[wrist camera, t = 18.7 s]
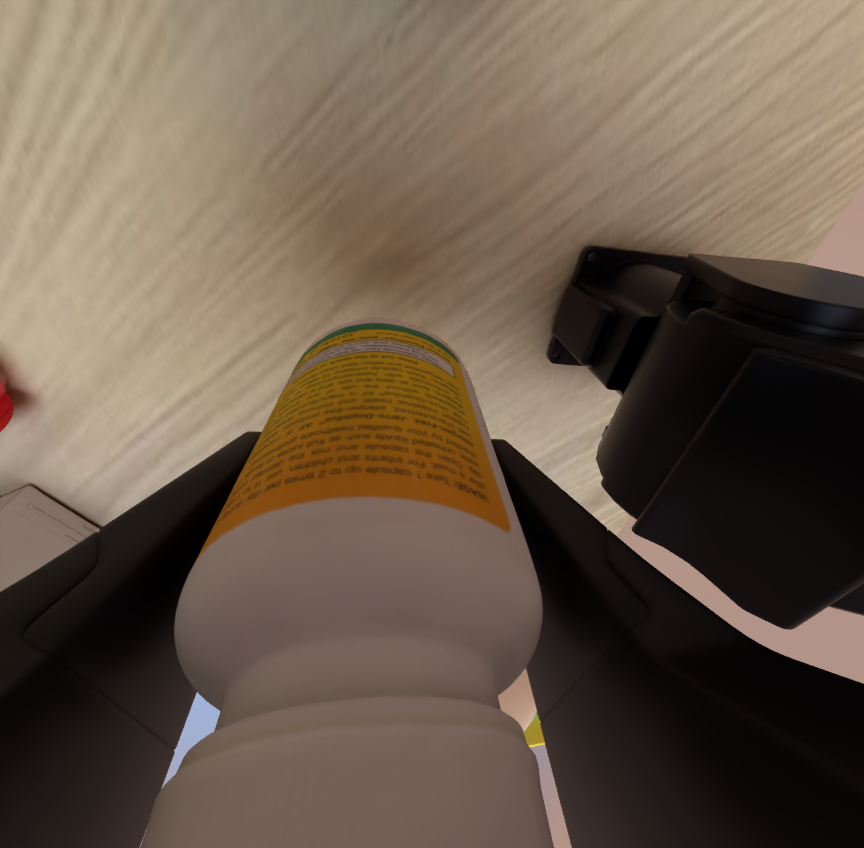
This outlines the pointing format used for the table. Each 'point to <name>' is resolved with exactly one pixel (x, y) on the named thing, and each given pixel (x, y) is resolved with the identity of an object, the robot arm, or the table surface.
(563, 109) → the table surface
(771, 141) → the table surface
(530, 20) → the table surface
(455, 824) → the supplement bottle
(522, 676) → the hamburger
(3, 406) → the cap
